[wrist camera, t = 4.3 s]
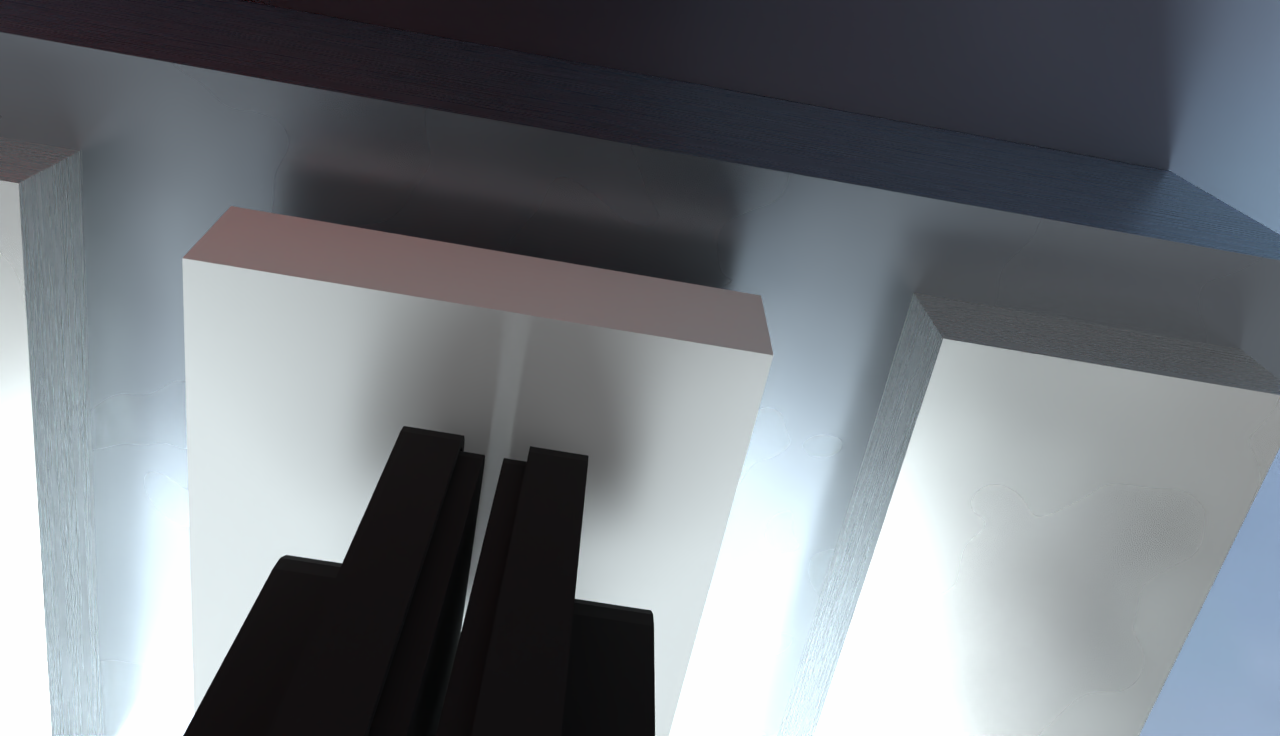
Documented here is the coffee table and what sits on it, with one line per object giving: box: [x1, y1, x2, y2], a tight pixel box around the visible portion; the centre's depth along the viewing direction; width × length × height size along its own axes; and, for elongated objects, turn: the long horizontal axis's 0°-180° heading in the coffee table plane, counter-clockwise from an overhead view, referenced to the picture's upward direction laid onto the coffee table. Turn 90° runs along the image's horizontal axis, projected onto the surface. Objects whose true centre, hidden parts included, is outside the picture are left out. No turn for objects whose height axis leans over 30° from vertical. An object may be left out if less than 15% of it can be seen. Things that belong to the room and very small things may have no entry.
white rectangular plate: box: [182, 206, 773, 736], centre depth 12 cm, size 8×5×1 cm, turn 170°
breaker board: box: [0, 0, 1280, 736], centre depth 14 cm, size 12×17×5 cm
